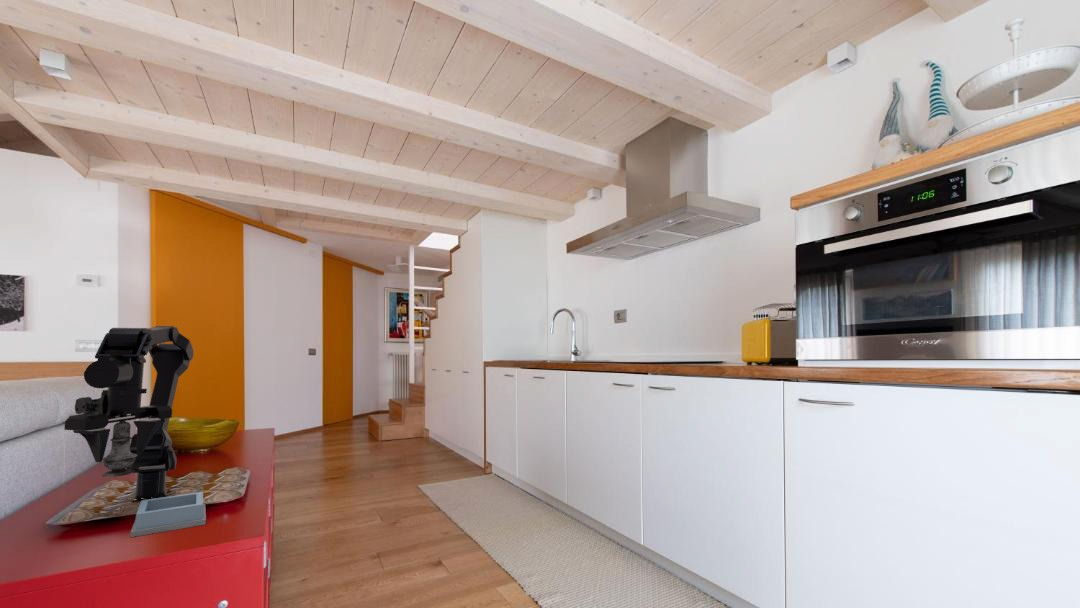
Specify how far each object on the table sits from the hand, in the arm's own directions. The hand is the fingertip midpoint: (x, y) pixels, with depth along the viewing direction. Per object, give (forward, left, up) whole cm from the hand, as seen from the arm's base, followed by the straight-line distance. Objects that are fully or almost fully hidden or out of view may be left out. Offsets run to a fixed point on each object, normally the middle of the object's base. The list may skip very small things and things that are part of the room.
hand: (119, 457), depth 104 cm
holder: (+9, +10, -13) cm, 18 cm away
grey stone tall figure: (0, 0, -4) cm, 4 cm away
